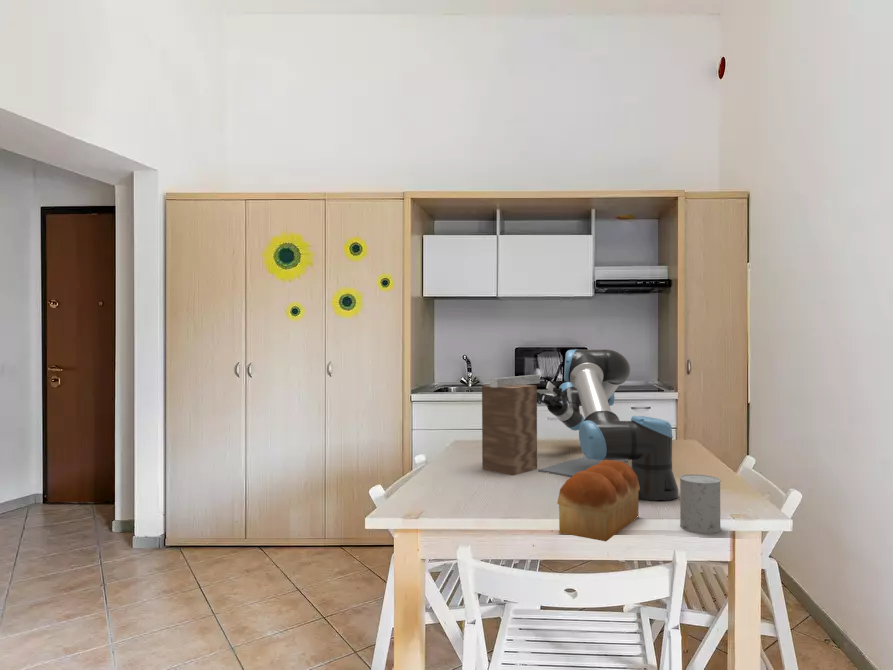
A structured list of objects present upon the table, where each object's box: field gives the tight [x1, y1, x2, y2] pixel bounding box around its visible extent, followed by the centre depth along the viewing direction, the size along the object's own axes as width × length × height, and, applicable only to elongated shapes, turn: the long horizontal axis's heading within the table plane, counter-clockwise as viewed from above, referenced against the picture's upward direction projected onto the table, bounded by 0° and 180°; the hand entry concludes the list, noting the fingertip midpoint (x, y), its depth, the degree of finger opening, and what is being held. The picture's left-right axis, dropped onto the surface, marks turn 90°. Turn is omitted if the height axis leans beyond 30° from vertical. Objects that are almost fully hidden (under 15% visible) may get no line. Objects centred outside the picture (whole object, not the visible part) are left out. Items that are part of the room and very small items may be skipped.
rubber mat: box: [537, 455, 629, 477], centre depth 232 cm, size 36×16×1 cm, turn 137°
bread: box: [556, 460, 640, 542], centre depth 162 cm, size 25×12×15 cm, turn 146°
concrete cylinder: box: [679, 473, 722, 535], centre depth 159 cm, size 10×10×12 cm
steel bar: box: [489, 374, 541, 388], centre depth 231 cm, size 26×3×3 cm, turn 137°
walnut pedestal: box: [481, 384, 538, 476], centre depth 228 cm, size 14×14×30 cm
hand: (532, 383), depth 240 cm, fingers open, 13 cm apart
